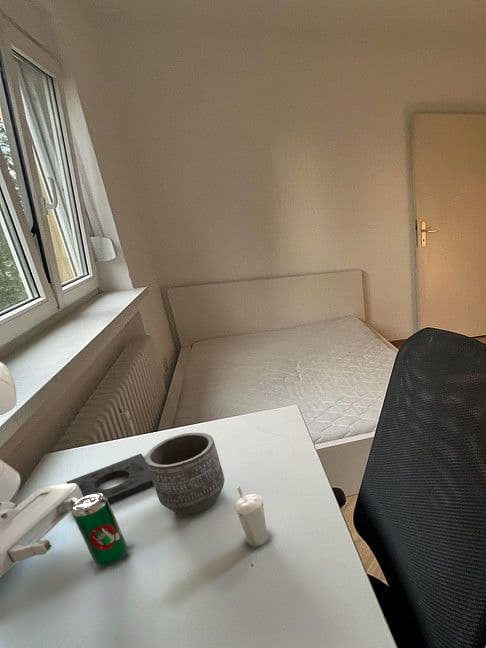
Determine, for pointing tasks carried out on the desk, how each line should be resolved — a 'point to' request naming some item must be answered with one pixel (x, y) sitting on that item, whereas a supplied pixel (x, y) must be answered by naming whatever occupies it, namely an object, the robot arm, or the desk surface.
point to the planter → (186, 473)
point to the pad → (128, 467)
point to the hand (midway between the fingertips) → (68, 526)
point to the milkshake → (252, 518)
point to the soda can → (99, 529)
